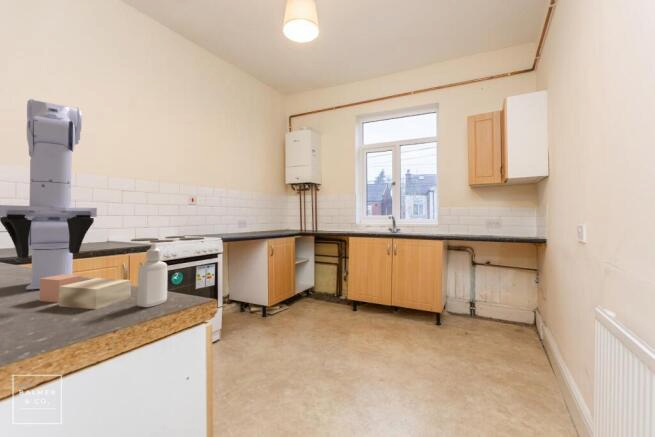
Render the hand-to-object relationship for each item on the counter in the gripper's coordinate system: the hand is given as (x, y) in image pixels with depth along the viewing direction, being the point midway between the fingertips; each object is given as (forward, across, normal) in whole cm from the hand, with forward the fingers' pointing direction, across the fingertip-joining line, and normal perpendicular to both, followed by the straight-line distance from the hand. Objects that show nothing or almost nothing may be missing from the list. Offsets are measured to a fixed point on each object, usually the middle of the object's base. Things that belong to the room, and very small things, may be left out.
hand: (50, 255), depth 57 cm
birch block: (+10, +6, -5) cm, 12 cm away
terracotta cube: (+10, +3, +4) cm, 11 cm away
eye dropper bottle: (+10, +10, -15) cm, 21 cm away
